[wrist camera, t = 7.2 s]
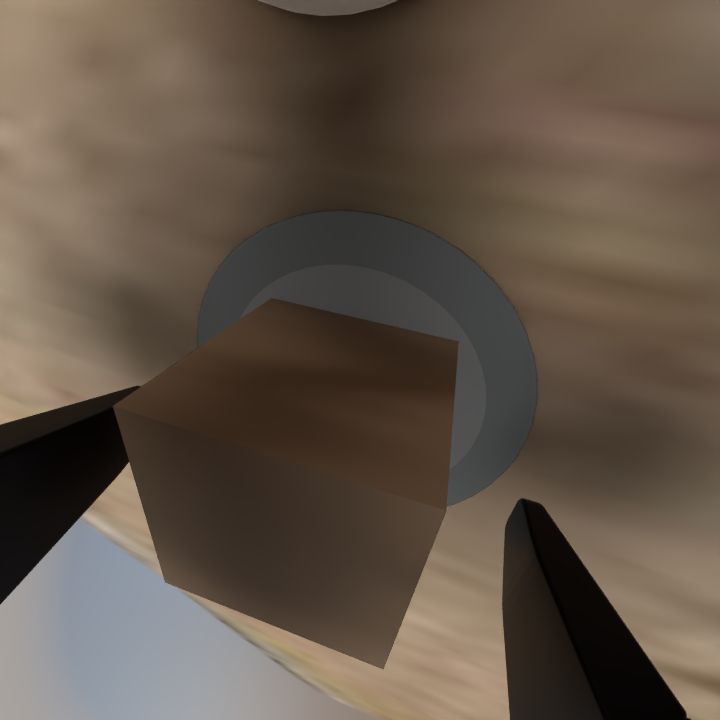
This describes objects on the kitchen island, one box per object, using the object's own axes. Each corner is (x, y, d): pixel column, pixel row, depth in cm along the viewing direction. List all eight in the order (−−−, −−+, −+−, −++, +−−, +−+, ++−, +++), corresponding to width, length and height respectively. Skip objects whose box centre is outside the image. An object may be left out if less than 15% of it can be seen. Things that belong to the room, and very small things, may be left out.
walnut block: (459, 341, 9) (446, 510, 4) (416, 479, 11) (383, 669, 7) (271, 297, 10) (113, 406, 5) (272, 435, 12) (165, 582, 8)
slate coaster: (614, 255, 7) (616, 257, 7) (472, 546, 12) (472, 549, 12) (177, 179, 9) (174, 179, 9) (214, 463, 14) (212, 465, 14)
